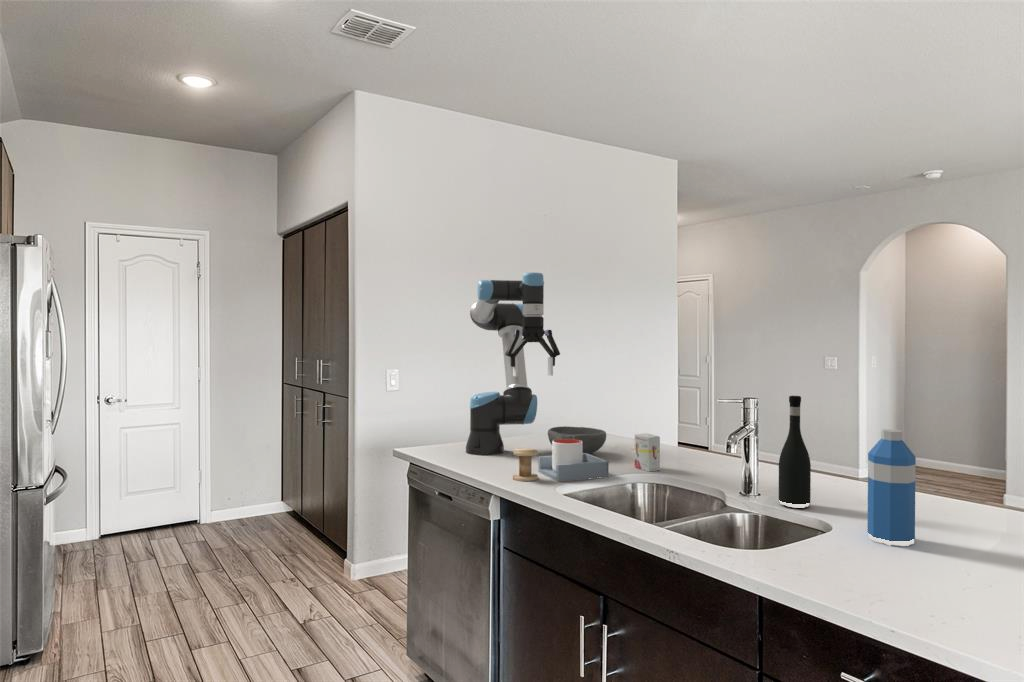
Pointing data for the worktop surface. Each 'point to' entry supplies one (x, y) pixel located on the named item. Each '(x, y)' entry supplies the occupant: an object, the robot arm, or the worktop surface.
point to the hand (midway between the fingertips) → (532, 375)
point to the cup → (566, 451)
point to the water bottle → (891, 488)
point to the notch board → (574, 468)
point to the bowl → (580, 436)
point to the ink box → (647, 452)
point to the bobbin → (525, 465)
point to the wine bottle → (794, 462)
